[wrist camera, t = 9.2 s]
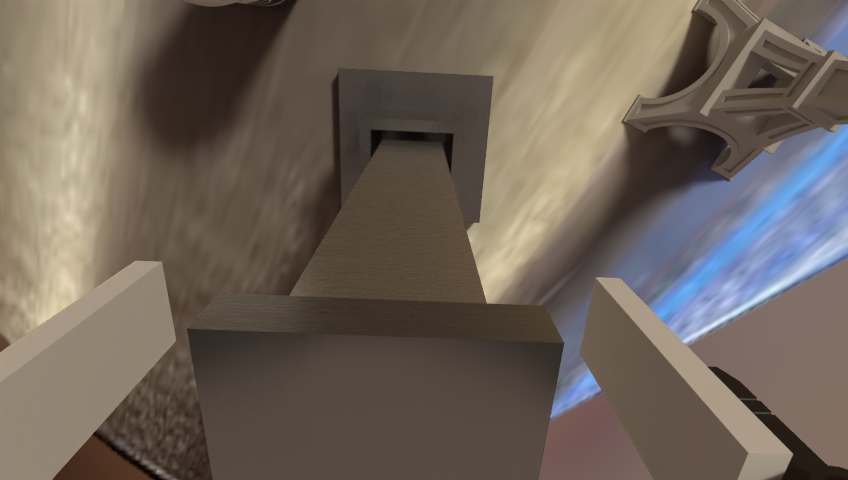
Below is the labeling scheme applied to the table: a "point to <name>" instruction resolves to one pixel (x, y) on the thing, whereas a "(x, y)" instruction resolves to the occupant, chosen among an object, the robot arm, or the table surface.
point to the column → (379, 350)
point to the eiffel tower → (753, 89)
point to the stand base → (417, 123)
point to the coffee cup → (260, 0)
